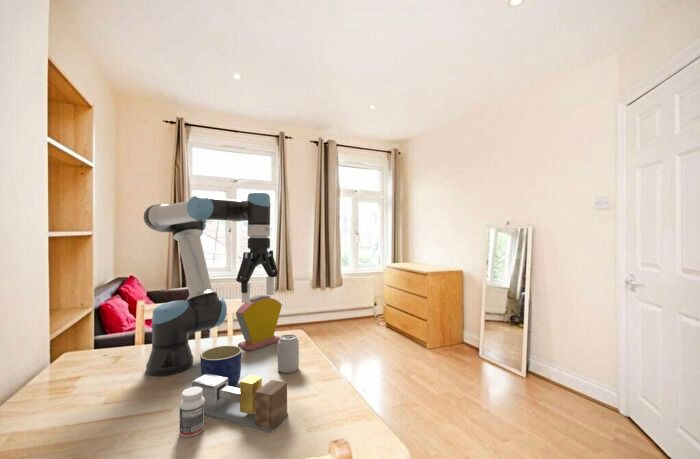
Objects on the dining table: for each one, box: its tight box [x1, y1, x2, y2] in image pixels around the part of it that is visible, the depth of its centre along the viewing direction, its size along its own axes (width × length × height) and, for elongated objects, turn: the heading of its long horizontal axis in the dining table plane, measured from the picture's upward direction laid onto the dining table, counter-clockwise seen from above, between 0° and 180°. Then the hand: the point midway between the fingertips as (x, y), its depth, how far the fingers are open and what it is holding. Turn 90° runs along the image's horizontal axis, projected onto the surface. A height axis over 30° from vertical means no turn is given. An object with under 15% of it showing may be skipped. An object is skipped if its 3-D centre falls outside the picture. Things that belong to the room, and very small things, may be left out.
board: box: [205, 400, 289, 434], centre depth 87 cm, size 27×8×1 cm, turn 70°
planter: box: [199, 345, 243, 387], centre depth 102 cm, size 12×12×11 cm
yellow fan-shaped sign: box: [235, 294, 283, 352], centre depth 141 cm, size 22×9×22 cm, turn 145°
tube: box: [217, 374, 263, 415], centre depth 86 cm, size 22×4×8 cm, turn 70°
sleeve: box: [191, 374, 228, 412], centre depth 90 cm, size 8×5×8 cm
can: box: [277, 333, 300, 374], centre depth 114 cm, size 8×8×12 cm
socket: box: [255, 379, 288, 432], centre depth 83 cm, size 5×7×9 cm
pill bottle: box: [179, 386, 206, 438], centre depth 79 cm, size 6×6×10 cm
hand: (258, 298), depth 109 cm, fingers open, 13 cm apart
